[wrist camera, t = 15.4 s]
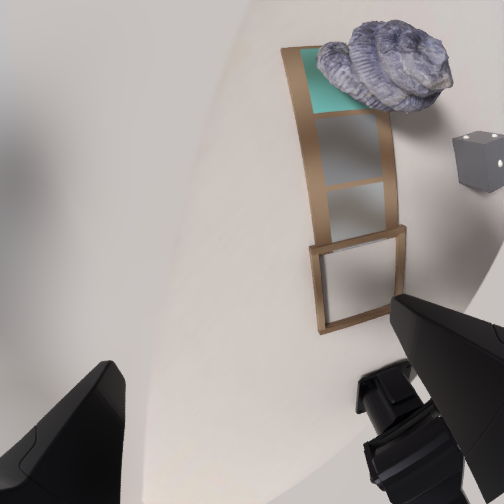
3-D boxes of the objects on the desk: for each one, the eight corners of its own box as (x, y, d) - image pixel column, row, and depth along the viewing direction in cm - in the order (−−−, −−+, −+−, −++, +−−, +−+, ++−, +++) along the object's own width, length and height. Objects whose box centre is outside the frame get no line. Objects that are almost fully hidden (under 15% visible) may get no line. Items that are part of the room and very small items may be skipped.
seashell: (372, 47, 16) (469, 12, 6) (381, 117, 18) (488, 120, 8) (301, 42, 15) (373, -22, 6) (311, 117, 17) (398, 108, 8)
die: (484, 171, 20) (515, 180, 17) (458, 182, 21) (491, 193, 17) (478, 128, 19) (510, 133, 15) (451, 136, 19) (485, 141, 15)
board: (396, 234, 22) (398, 236, 21) (316, 254, 21) (317, 256, 21) (373, 47, 16) (374, 46, 16) (280, 49, 16) (281, 48, 15)
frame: (397, 305, 25) (401, 309, 24) (318, 331, 24) (320, 335, 24) (401, 224, 21) (405, 226, 21) (308, 246, 21) (311, 249, 21)
